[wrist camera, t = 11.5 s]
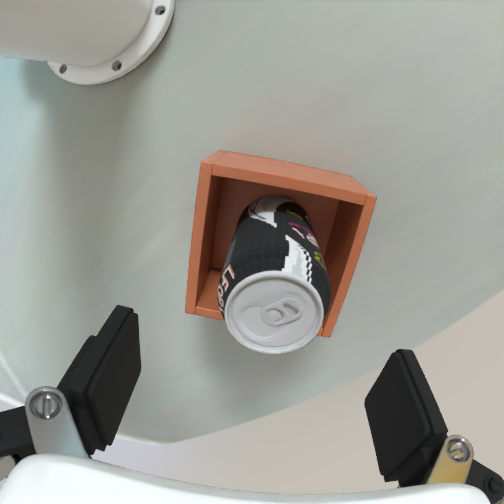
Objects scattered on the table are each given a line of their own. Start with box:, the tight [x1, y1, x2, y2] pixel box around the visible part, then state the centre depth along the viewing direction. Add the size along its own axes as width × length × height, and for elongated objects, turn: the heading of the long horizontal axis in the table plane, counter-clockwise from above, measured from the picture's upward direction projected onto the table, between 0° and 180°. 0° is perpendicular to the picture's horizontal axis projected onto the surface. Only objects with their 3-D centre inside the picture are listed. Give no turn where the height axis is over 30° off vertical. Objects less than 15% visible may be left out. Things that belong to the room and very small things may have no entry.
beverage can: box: [217, 195, 331, 354], centre depth 20 cm, size 6×6×12 cm
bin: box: [185, 150, 377, 337], centre depth 23 cm, size 10×10×7 cm
